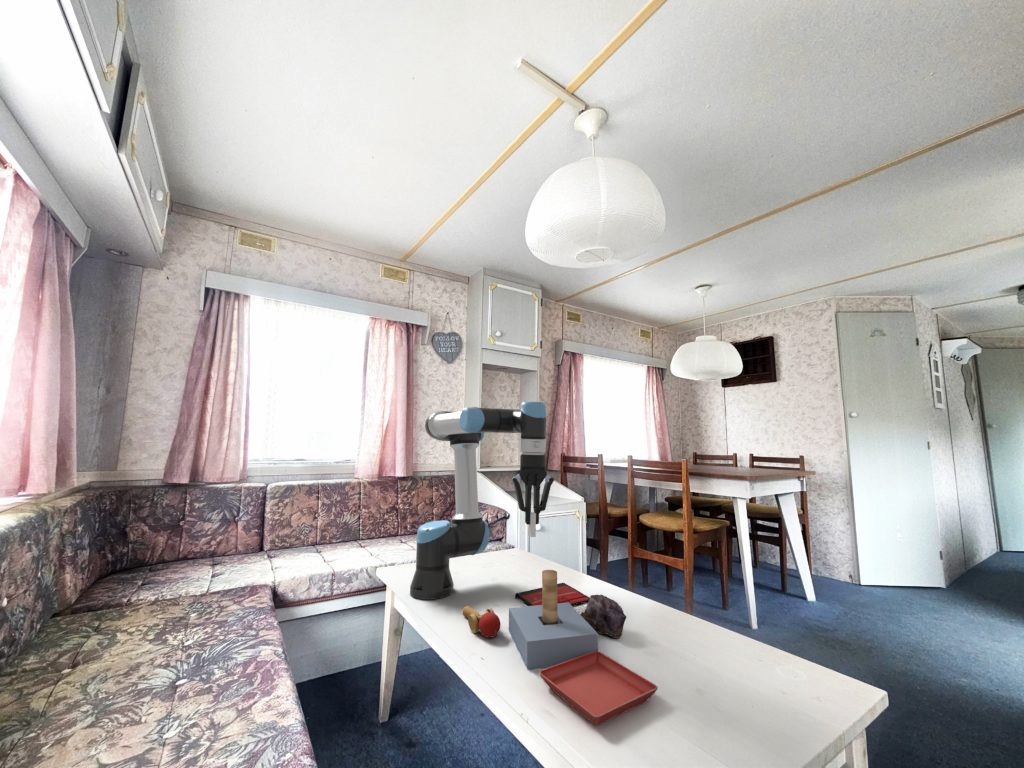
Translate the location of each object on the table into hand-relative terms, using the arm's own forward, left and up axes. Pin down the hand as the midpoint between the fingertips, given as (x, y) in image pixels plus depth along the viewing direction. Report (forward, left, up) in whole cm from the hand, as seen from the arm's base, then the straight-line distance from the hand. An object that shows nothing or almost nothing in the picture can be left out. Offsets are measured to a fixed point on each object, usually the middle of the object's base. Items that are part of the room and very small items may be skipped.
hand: (531, 535), depth 118 cm
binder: (-20, +13, -26) cm, 36 cm away
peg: (+9, +2, -26) cm, 27 cm away
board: (+9, +2, -26) cm, 27 cm away
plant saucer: (+31, +5, -26) cm, 41 cm away
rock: (+5, +20, -26) cm, 33 cm away
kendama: (-5, -14, -26) cm, 30 cm away
